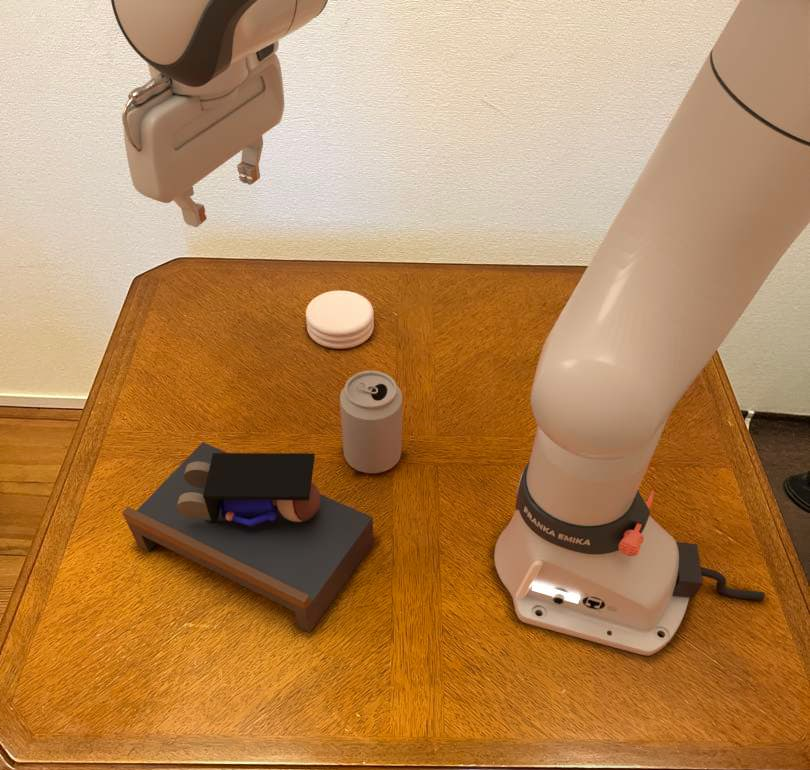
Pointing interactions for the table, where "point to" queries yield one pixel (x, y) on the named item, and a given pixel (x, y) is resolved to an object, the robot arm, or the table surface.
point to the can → (371, 421)
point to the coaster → (340, 319)
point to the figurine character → (251, 488)
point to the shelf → (260, 545)
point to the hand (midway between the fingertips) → (224, 201)
